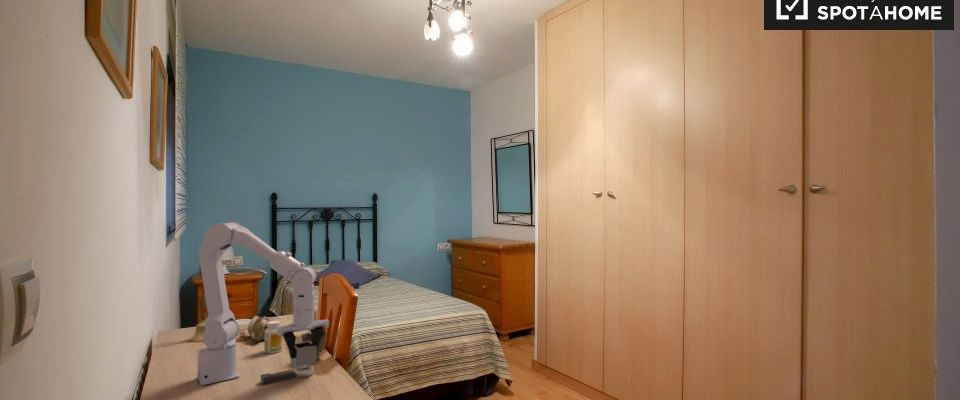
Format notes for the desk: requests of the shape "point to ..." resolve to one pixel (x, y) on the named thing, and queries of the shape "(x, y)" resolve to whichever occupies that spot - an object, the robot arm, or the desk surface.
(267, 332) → the supplement bottle
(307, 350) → the dark-topped grey cube
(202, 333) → the hand bell
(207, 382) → the robot arm
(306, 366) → the ratchet
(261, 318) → the ceramic sculpture
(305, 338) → the cup
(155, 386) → the desk surface
